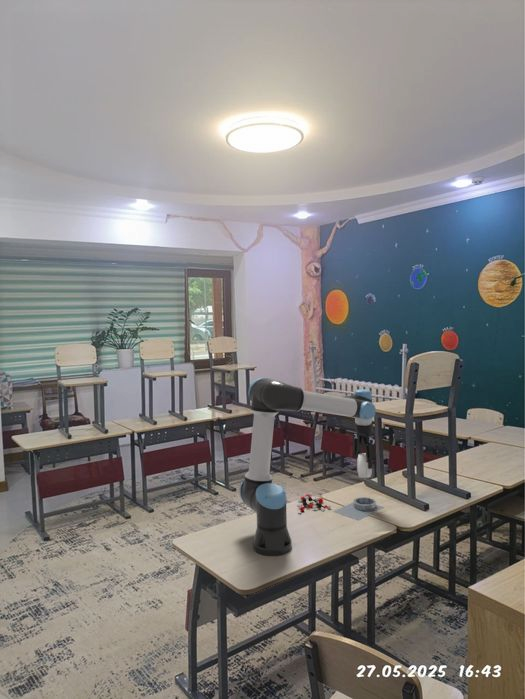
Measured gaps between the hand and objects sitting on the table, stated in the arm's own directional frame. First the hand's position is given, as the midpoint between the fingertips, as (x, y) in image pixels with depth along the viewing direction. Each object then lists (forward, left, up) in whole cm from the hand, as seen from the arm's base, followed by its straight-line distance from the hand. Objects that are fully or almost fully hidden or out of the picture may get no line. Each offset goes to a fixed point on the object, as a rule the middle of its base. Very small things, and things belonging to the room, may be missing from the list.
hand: (364, 473), depth 225 cm
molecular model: (-23, +7, -17) cm, 29 cm away
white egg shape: (0, 0, -1) cm, 1 cm away
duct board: (-4, -2, -17) cm, 17 cm away
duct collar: (0, 0, -16) cm, 16 cm away
